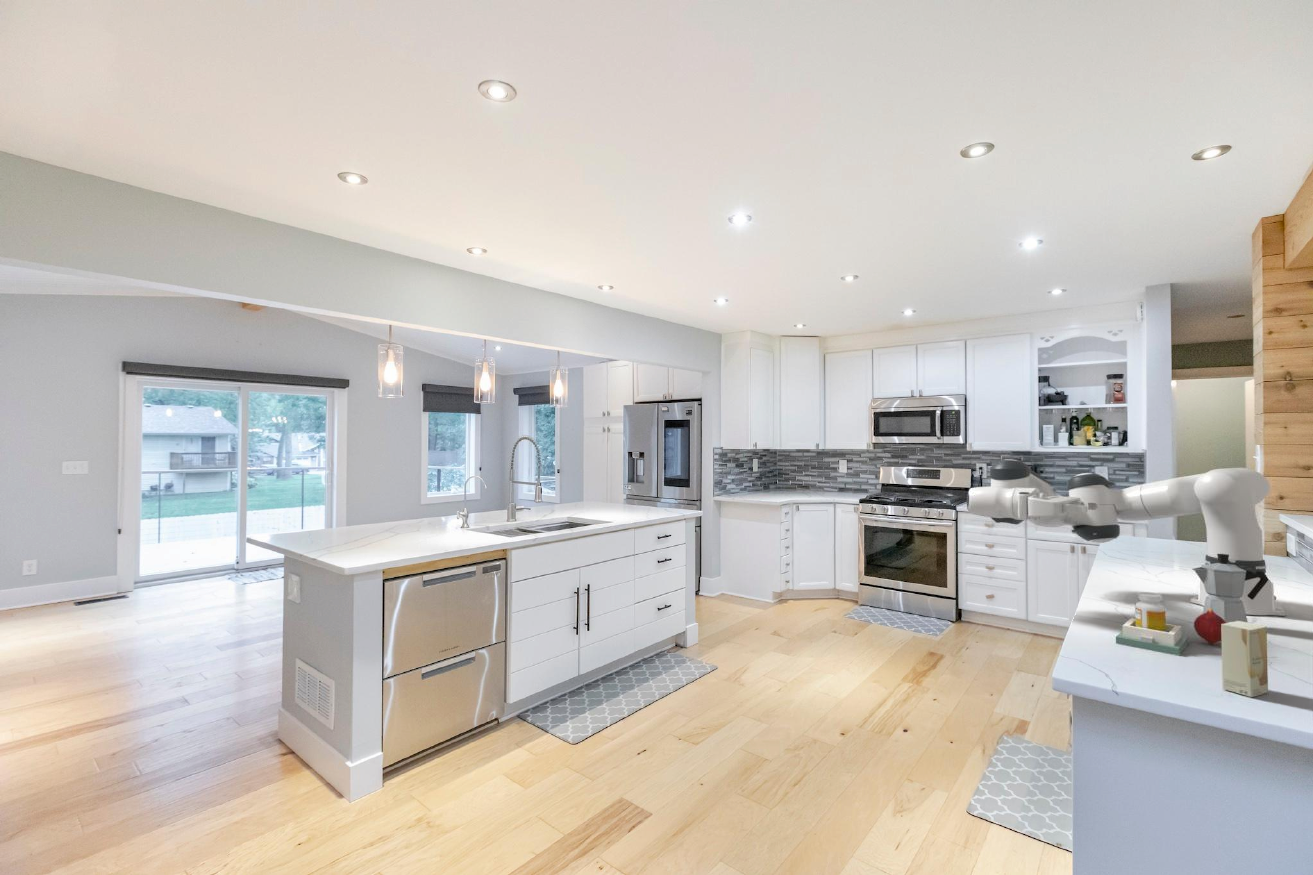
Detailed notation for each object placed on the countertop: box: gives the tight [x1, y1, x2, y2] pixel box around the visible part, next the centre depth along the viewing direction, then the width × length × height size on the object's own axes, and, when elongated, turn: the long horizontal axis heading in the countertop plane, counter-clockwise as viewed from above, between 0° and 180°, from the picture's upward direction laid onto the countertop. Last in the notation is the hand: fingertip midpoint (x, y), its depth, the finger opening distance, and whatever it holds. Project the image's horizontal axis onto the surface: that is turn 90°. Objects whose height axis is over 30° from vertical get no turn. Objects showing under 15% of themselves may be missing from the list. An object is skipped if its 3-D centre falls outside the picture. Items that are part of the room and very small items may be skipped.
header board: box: [1115, 617, 1190, 656], centre depth 136 cm, size 12×11×4 cm
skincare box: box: [1221, 621, 1269, 698], centre depth 109 cm, size 6×4×12 cm
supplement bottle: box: [1134, 591, 1167, 632], centre depth 136 cm, size 5×5×10 cm
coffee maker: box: [1191, 554, 1270, 623], centre depth 148 cm, size 15×9×18 cm, turn 68°
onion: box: [1193, 608, 1226, 645], centre depth 135 cm, size 6×6×8 cm
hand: (1092, 507), depth 149 cm, fingers open, 8 cm apart
